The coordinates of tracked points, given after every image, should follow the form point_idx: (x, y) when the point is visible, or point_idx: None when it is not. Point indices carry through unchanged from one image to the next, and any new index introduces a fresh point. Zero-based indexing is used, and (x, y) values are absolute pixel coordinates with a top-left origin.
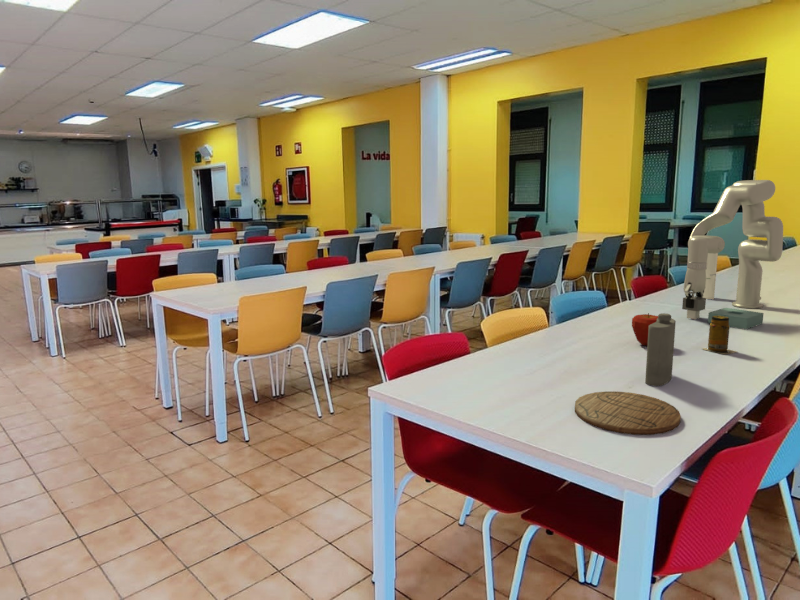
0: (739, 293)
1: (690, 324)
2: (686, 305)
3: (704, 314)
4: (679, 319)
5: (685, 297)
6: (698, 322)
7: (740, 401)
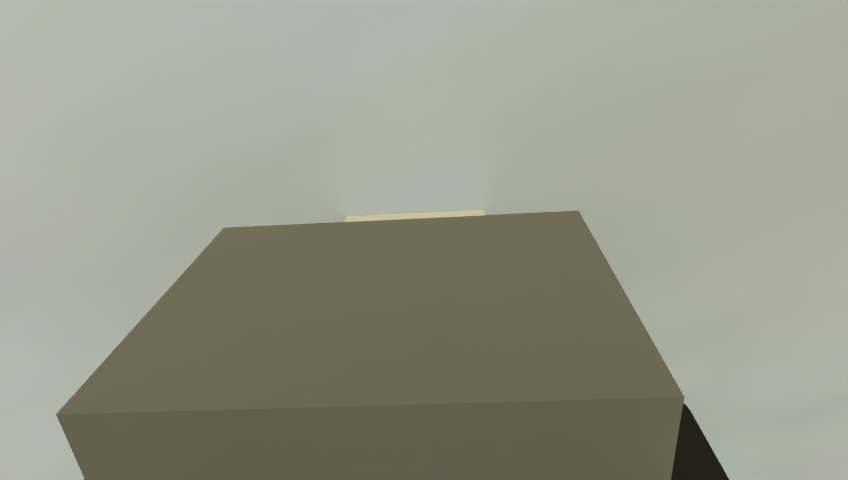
0: None
1: (59, 427)
2: None
3: (836, 244)
4: (163, 201)
5: (207, 427)
6: None
7: None
